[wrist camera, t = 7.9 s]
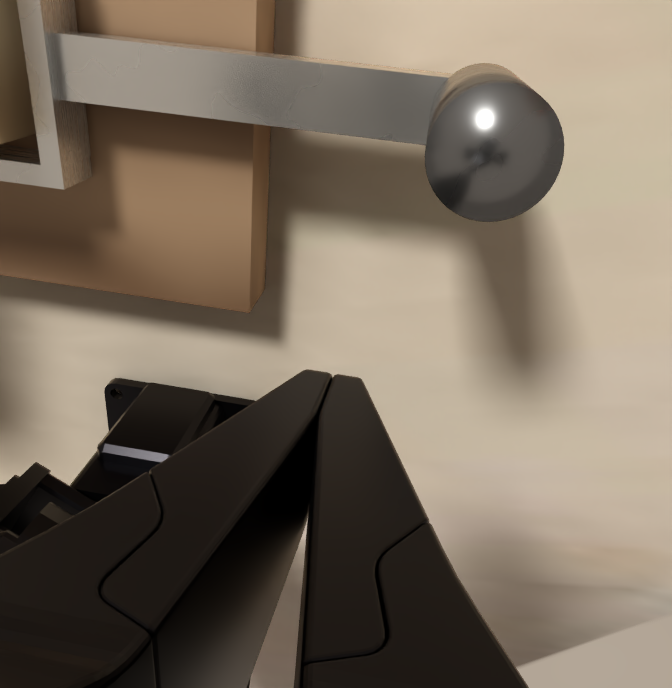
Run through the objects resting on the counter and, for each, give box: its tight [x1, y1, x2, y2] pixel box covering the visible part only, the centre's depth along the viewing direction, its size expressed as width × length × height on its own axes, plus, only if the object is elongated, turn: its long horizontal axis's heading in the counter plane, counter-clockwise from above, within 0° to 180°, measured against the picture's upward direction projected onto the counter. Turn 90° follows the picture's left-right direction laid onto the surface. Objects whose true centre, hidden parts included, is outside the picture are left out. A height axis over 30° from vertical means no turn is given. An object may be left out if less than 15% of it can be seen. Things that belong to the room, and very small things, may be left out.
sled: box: [0, 0, 564, 222], centre depth 14 cm, size 6×18×6 cm, turn 84°
